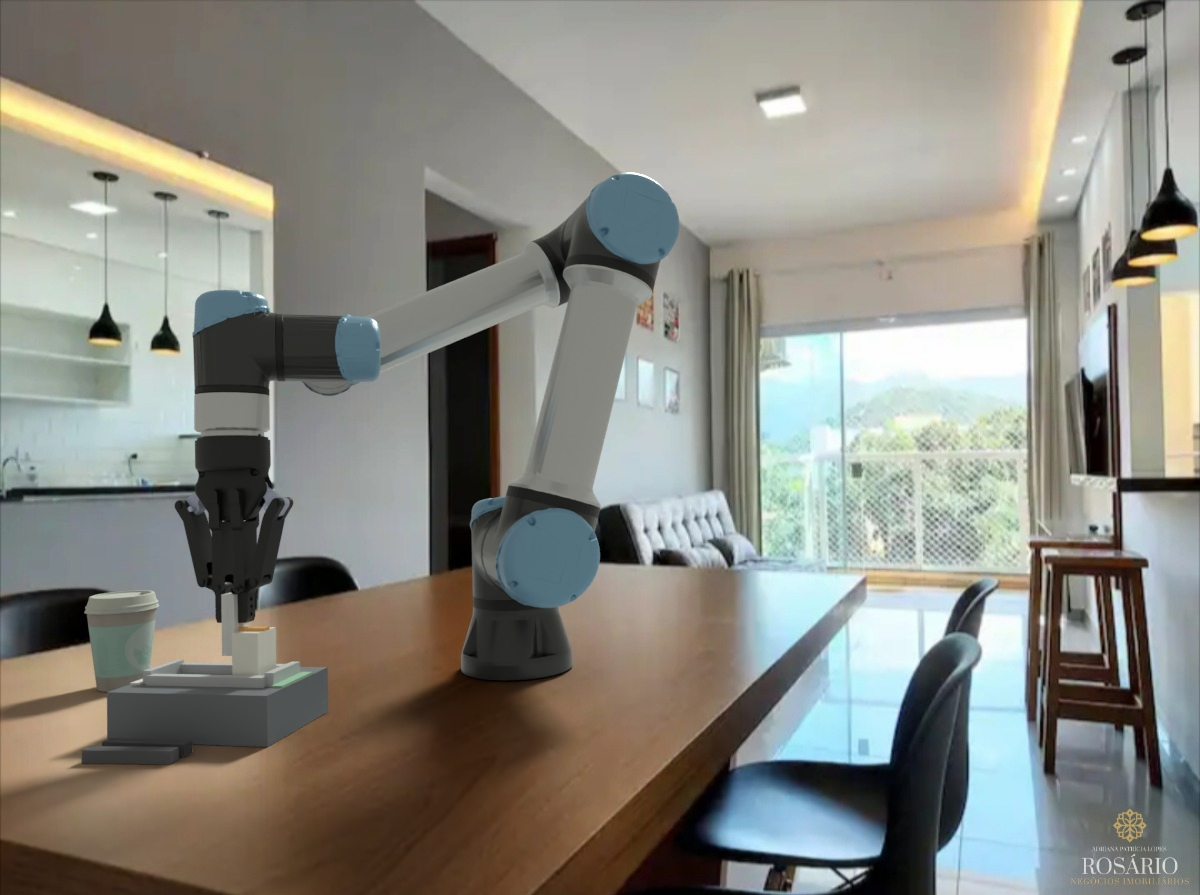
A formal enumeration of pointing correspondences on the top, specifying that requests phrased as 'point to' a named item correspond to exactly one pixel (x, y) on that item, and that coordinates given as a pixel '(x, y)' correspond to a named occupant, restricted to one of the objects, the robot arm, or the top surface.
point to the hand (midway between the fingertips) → (236, 652)
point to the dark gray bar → (130, 755)
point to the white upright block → (253, 650)
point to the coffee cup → (121, 636)
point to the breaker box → (217, 704)
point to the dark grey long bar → (152, 744)
